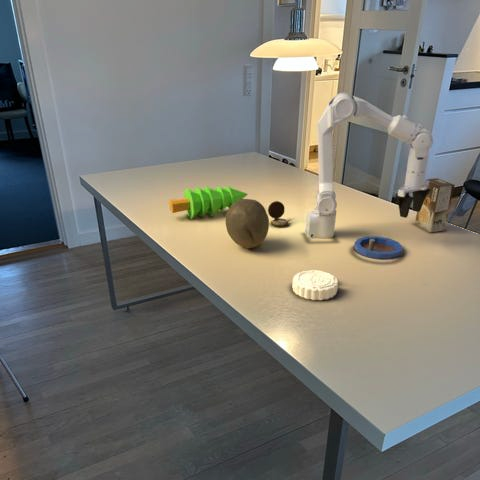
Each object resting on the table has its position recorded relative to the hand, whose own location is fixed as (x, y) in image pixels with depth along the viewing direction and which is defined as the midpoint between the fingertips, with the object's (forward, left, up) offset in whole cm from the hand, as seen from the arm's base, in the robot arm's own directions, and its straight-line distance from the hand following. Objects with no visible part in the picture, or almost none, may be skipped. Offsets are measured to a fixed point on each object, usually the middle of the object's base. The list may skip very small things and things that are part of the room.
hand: (410, 213), depth 156 cm
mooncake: (-36, -32, -10) cm, 49 cm away
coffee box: (+14, +13, -10) cm, 21 cm away
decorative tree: (-63, +29, -10) cm, 70 cm away
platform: (-12, -8, -10) cm, 17 cm away
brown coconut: (-52, -1, -10) cm, 53 cm away
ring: (-12, -8, -9) cm, 17 cm away
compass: (-38, +19, -10) cm, 44 cm away
